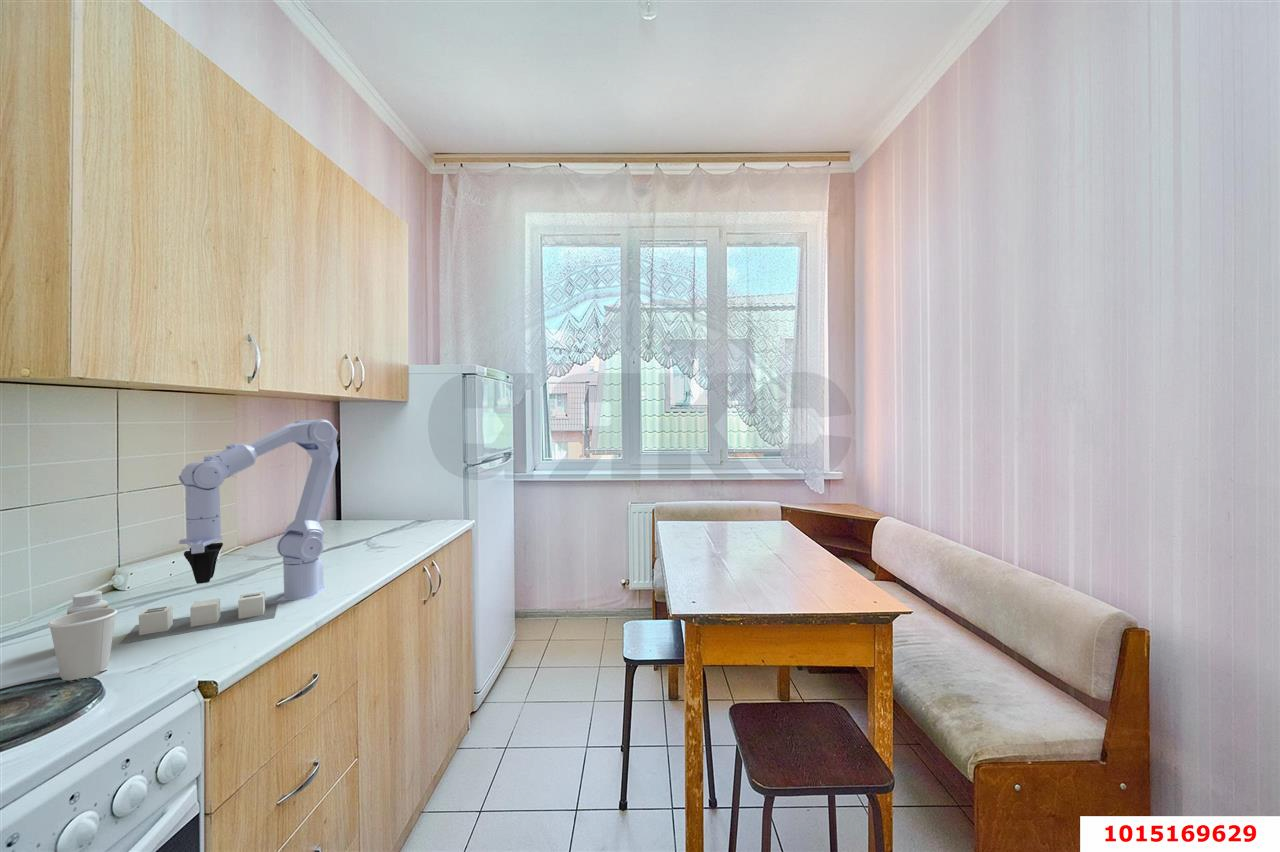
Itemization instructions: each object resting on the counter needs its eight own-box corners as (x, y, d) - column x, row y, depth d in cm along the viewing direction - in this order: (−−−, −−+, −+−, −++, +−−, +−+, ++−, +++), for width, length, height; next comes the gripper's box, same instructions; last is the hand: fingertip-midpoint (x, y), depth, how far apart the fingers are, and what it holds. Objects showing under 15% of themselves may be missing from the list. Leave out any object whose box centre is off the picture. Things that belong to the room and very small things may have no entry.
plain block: (194, 620, 116) (194, 601, 116) (220, 616, 118) (220, 598, 118) (190, 626, 112) (190, 607, 112) (217, 622, 114) (216, 603, 114)
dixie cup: (91, 662, 97) (90, 607, 97) (132, 663, 96) (130, 608, 96) (34, 684, 89) (32, 624, 89) (78, 686, 88) (76, 625, 88)
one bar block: (241, 613, 120) (240, 594, 120) (265, 609, 122) (264, 591, 122) (238, 618, 116) (238, 600, 116) (263, 614, 119) (262, 596, 119)
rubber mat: (278, 605, 127) (277, 602, 127) (274, 620, 116) (274, 617, 116) (136, 627, 114) (136, 625, 114) (118, 647, 104) (118, 644, 104)
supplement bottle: (63, 654, 101) (62, 600, 101) (73, 644, 106) (71, 592, 106) (104, 647, 104) (103, 594, 104) (112, 637, 109) (110, 587, 109)
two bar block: (145, 628, 112) (144, 608, 112) (172, 623, 114) (172, 604, 114) (139, 635, 108) (138, 614, 108) (167, 630, 110) (167, 610, 110)
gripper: (186, 514, 119) (188, 575, 119) (170, 524, 107) (172, 592, 107) (226, 511, 123) (227, 570, 123) (215, 520, 110) (217, 586, 110)
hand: (205, 580), depth 115 cm, fingers open, 3 cm apart
